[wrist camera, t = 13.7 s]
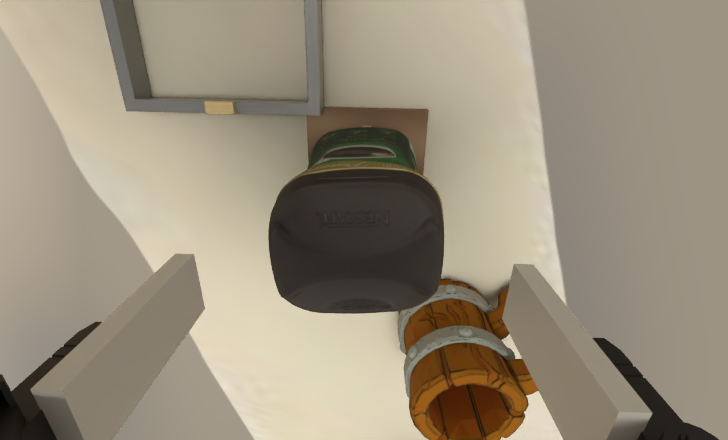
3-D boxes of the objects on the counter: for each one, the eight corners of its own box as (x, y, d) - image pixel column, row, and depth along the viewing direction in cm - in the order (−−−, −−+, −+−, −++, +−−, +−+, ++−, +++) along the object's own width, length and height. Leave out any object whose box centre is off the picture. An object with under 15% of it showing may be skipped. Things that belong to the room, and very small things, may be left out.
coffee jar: (318, 208, 35) (264, 336, 18) (310, 127, 32) (236, 190, 15) (415, 205, 35) (453, 333, 18) (415, 123, 32) (463, 183, 15)
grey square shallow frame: (91, -129, 26) (57, -154, 23) (318, -127, 26) (311, -152, 23) (143, 108, 33) (121, 111, 30) (324, 112, 32) (319, 116, 30)
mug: (377, 301, 41) (378, 420, 27) (513, 241, 37) (596, 341, 23) (418, 364, 44) (437, 497, 30) (546, 314, 40) (634, 439, 27)
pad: (307, 106, 32) (306, 107, 31) (427, 109, 32) (428, 110, 31) (312, 216, 37) (311, 219, 36) (417, 219, 36) (418, 223, 35)
